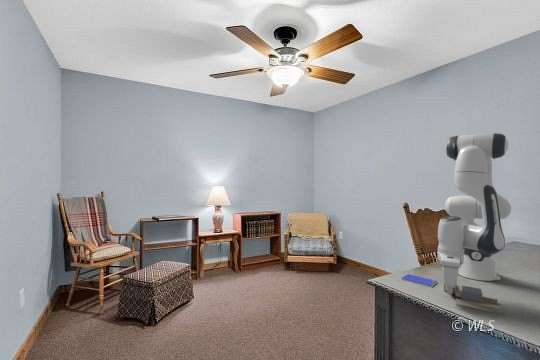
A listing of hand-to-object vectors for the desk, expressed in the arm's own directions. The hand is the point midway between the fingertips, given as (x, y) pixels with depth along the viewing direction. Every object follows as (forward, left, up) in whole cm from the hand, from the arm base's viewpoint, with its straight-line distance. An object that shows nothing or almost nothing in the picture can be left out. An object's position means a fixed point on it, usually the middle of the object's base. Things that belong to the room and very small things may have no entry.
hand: (450, 291), depth 111 cm
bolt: (-8, 0, -2) cm, 9 cm away
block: (+3, +7, -2) cm, 8 cm away
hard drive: (-11, -12, -2) cm, 16 cm away
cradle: (+1, +6, -2) cm, 7 cm away
